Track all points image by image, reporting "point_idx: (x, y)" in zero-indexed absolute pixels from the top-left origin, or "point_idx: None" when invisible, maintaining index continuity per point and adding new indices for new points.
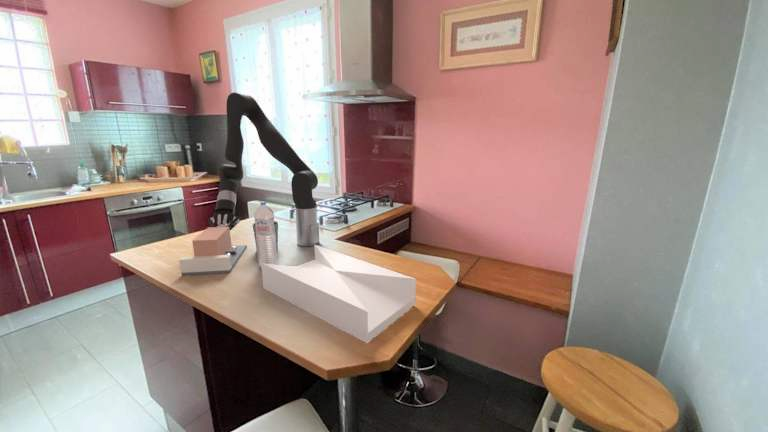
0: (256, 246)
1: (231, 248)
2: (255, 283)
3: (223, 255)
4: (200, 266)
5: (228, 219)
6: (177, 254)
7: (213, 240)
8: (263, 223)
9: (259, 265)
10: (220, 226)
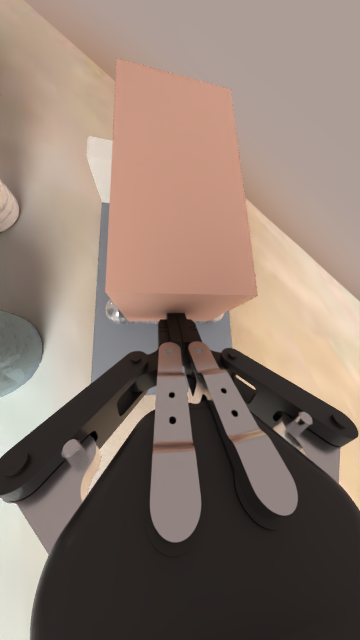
0: (23, 333)
1: None
2: (24, 121)
3: (110, 155)
4: None
5: (138, 440)
6: (293, 344)
7: (133, 68)
8: None
9: (12, 194)
10: (194, 358)
